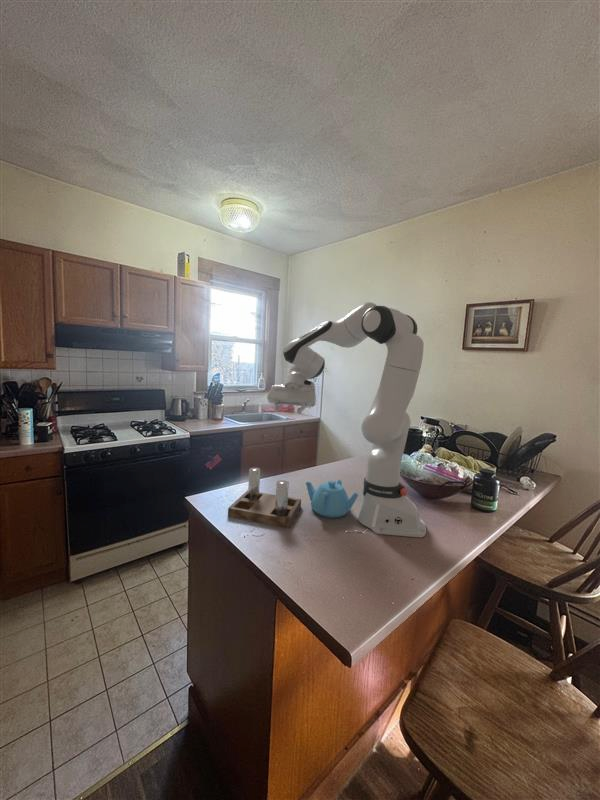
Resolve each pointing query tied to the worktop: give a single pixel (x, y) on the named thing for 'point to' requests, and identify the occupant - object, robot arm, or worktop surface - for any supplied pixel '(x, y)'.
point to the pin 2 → (281, 498)
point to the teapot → (330, 499)
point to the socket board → (263, 510)
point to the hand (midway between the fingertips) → (287, 411)
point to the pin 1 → (254, 483)
